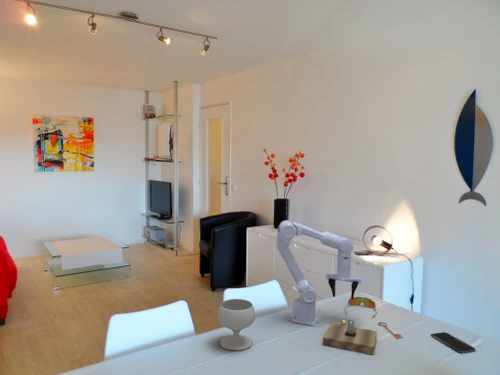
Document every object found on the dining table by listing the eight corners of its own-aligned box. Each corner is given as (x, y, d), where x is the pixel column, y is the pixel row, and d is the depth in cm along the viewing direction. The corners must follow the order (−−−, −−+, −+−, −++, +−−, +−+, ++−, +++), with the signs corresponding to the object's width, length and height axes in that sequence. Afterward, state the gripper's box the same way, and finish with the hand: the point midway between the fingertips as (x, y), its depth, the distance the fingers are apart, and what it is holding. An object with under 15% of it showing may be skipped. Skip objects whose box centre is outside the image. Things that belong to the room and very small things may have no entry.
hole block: (322, 345, 146) (323, 337, 146) (329, 330, 159) (330, 323, 159) (373, 355, 139) (373, 346, 139) (376, 338, 152) (376, 331, 152)
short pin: (340, 330, 159) (340, 320, 159) (341, 327, 161) (341, 318, 161) (346, 331, 158) (346, 321, 158) (347, 328, 161) (347, 319, 160)
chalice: (209, 343, 146) (209, 304, 145) (236, 331, 156) (236, 295, 155) (236, 356, 136) (236, 315, 135) (262, 343, 147) (263, 304, 146)
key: (407, 340, 153) (389, 324, 167) (407, 338, 152) (389, 322, 167) (393, 340, 152) (376, 323, 167) (393, 337, 152) (376, 321, 167)
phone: (459, 352, 141) (429, 334, 155) (459, 355, 141) (429, 336, 155) (477, 349, 143) (445, 331, 158) (476, 352, 143) (445, 334, 158)
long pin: (346, 342, 149) (347, 321, 148) (347, 339, 151) (348, 319, 150) (352, 343, 148) (353, 323, 147) (353, 341, 150) (354, 320, 149)
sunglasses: (377, 307, 184) (378, 298, 183) (375, 324, 171) (376, 314, 170) (347, 303, 189) (347, 294, 188) (342, 319, 176) (342, 309, 175)
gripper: (324, 266, 165) (324, 298, 166) (360, 270, 160) (359, 303, 161) (328, 262, 172) (327, 292, 173) (362, 266, 166) (361, 297, 167)
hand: (343, 297), depth 167 cm, fingers open, 7 cm apart
